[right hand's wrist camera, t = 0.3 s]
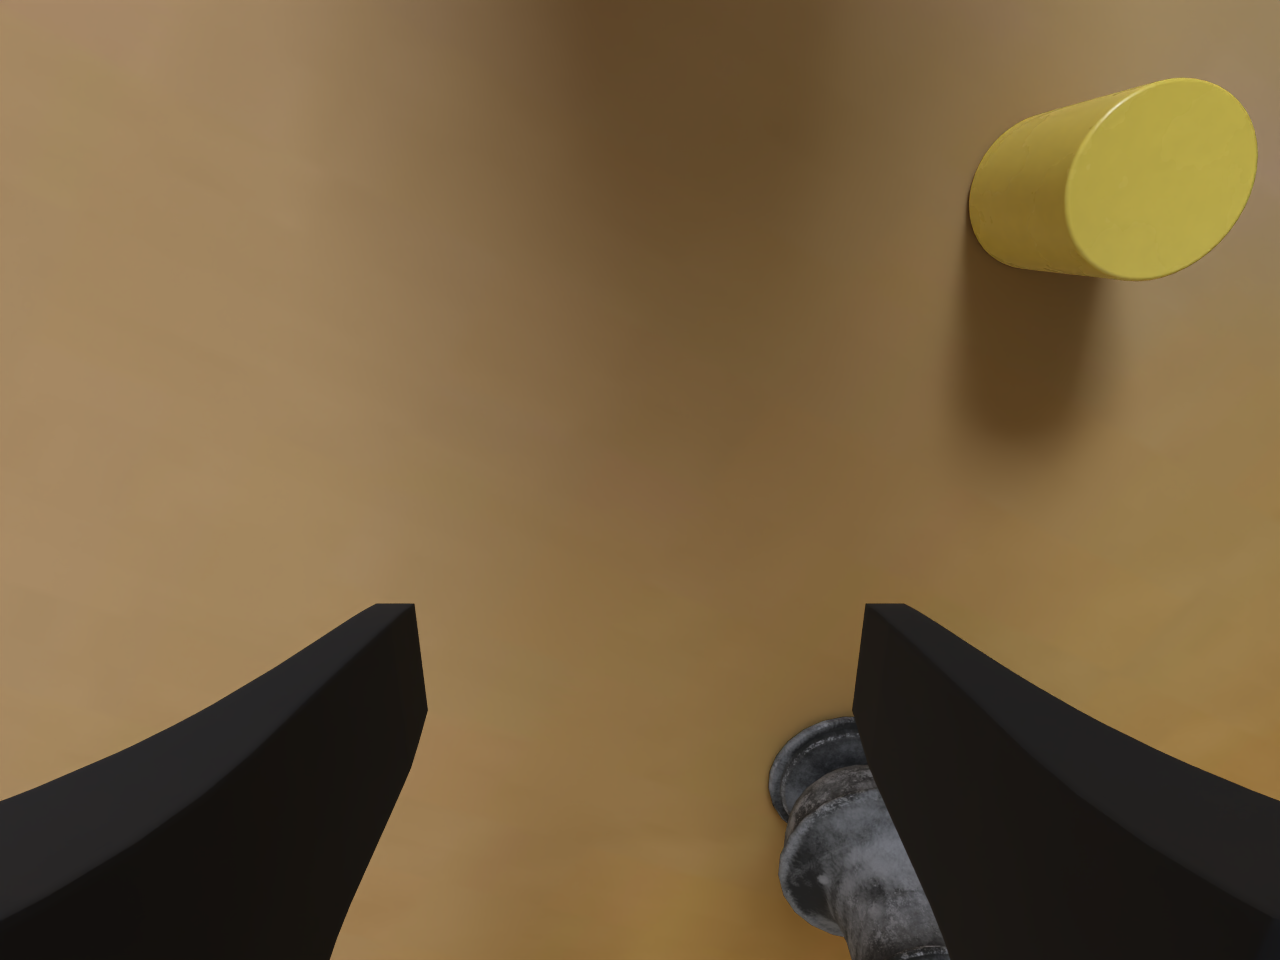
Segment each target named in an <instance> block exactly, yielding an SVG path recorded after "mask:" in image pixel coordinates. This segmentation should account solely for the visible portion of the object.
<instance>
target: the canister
mask: <svg viewBox="0 0 1280 960" xmlns="http://www.w3.org/2000/svg"><path fill="white" fill-rule="evenodd" d="M1257 159H1258V151H1257V140H1256V135H1255V130H1254V128H1253V125H1252V122H1251V119H1250V117H1249V116H1248V114H1247V112H1246V110H1245V109H1244V107H1243V106H1242V105H1241V104H1240V102H1239V101H1238V100H1237V99H1236V98H1235V97H1234V96H1233V95H1232V94H1230V93H1229V92H1228V91H1226V90H1225V89H1223V88H1221V87H1220V86H1218V85H1215V84H1213V83H1210V82H1208V81H1204V80H1200V79H1195V78H1172V79H1166V80H1162V81H1157V82H1153V83H1150V84H1146V85H1143V86H1139V87H1135V88H1132V89H1128V90H1124V91H1121V92H1117V93H1114V94H1110V95H1106V96H1103V97H1099V98H1096V99H1092V100H1088V101H1085V102H1081V103H1078V104H1074V105H1070V106H1067V107H1063V108H1060V109H1056V110H1052V111H1049V112H1045V113H1041V114H1038V115H1035V116H1032V117H1029V118H1027V119H1025V120H1023V121H1021V122H1019V123H1017V124H1016V125H1014V126H1013V127H1011V128H1010V129H1008V130H1007V131H1006V132H1005V133H1004V134H1002V135H1001V136H1000V137H999V138H998V139H997V140H996V141H995V142H994V143H993V145H992V146H991V147H990V148H989V150H988V151H987V152H986V154H985V155H984V157H983V159H982V161H981V162H980V164H979V166H978V168H977V171H976V173H975V176H974V179H973V182H972V186H971V191H970V198H969V213H970V219H971V224H972V227H973V230H974V233H975V235H976V237H977V239H978V241H979V243H980V244H981V245H982V247H983V248H984V249H985V250H986V251H987V252H988V253H989V255H991V256H992V257H993V258H995V259H996V260H998V261H1000V262H1001V263H1003V264H1006V265H1008V266H1011V267H1015V268H1021V269H1029V270H1037V271H1046V272H1055V273H1064V274H1072V275H1081V276H1090V277H1098V278H1107V279H1116V280H1125V281H1146V280H1153V279H1158V278H1162V277H1165V276H1168V275H1171V274H1174V273H1176V272H1178V271H1180V270H1182V269H1184V268H1186V267H1188V266H1190V265H1191V264H1193V263H1195V262H1196V261H1198V260H1200V259H1201V258H1202V257H1203V256H1205V255H1206V254H1207V253H1209V252H1210V251H1211V250H1212V249H1213V248H1214V247H1215V246H1216V245H1217V244H1219V243H1220V242H1221V240H1222V239H1223V238H1224V237H1225V236H1226V235H1227V234H1228V232H1229V231H1230V230H1231V228H1232V227H1233V226H1234V224H1235V223H1236V221H1237V220H1238V218H1239V216H1240V215H1241V213H1242V211H1243V209H1244V208H1245V205H1246V203H1247V201H1248V199H1249V196H1250V194H1251V190H1252V187H1253V184H1254V180H1255V175H1256V170H1257Z"/></svg>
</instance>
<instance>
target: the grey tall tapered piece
mask: <svg viewBox="0 0 1280 960" xmlns="http://www.w3.org/2000/svg"><path fill="white" fill-rule="evenodd" d="M769 791H770V795H771V799H772V803H773V806H774V807H775V809H776V811H777V812H778V814H779V815H780V817H781V818H782V819H783V820H784V821H785V822H786V823H788V824H787V828H786V832H785V840H784V848H783V850H782V852H781V854H780V862H779V872H778V875H779V879H780V883H781V887H782V891H783V895H784V897H785V898H786V900H787V901H788V903H789V904H790V906H791V907H792V909H793V910H794V911H795V912H796V913H797V914H798V915H799V916H801V917H802V918H803V919H804V920H806V921H807V922H808V923H809V924H811V925H812V926H815V927H817V928H819V929H821V930H824V931H826V932H828V933H830V934H833V935H837V936H842V937H844V938H845V940H846V942H847V945H848V948H849V952H850V955H851V959H852V960H950V957H949V954H948V951H947V948H946V945H945V942H944V939H943V936H942V934H941V931H940V929H939V926H938V924H937V921H936V919H935V916H934V914H933V911H932V909H931V906H930V904H929V902H928V899H927V897H926V895H925V893H924V891H923V888H922V886H921V884H920V882H919V879H918V877H917V875H916V873H915V870H914V868H913V866H912V864H911V862H910V859H909V857H908V855H907V853H906V850H905V848H904V846H903V844H902V841H901V839H900V837H899V835H898V833H897V830H896V828H895V826H894V824H893V821H892V819H891V817H890V815H889V812H888V810H887V808H886V806H885V803H884V801H883V799H882V796H881V794H880V792H879V790H878V787H877V785H876V783H875V780H874V778H873V776H872V773H871V771H870V769H869V766H868V763H867V759H866V756H865V753H864V750H863V746H862V743H861V740H860V736H859V733H858V729H857V725H856V722H855V718H854V717H840V718H835V719H831V720H826V721H822V722H820V723H817V724H815V725H813V726H811V727H808V728H806V729H804V730H802V731H801V732H800V733H798V734H797V735H796V736H794V737H793V738H792V739H791V740H789V741H788V742H787V743H786V744H785V746H784V747H783V748H782V749H781V751H780V752H779V753H778V754H777V756H776V758H775V760H774V763H773V765H772V767H771V770H770V775H769Z"/></svg>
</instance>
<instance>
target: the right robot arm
mask: <svg viewBox="0 0 1280 960" xmlns="http://www.w3.org/2000/svg"><path fill="white" fill-rule="evenodd" d="M427 711H428V708H427V700H426V692H425V684H424V676H423V668H422V660H421V652H420V644H419V636H418V628H417V621H416V613H415V605H414V604H375V605H373V606H371V607H369V608H367V609H365V610H364V611H362V612H360V613H359V614H357V615H355V616H354V617H352V618H351V619H349V620H347V621H346V622H344V623H343V624H341V625H340V626H338V627H337V628H335V629H334V630H332V631H330V632H329V633H327V634H326V635H324V636H323V637H321V638H320V639H318V640H317V641H315V642H314V643H312V644H311V645H309V646H307V647H306V648H304V649H303V650H301V651H300V652H298V653H297V654H295V655H294V656H292V657H290V658H289V659H287V660H286V661H284V662H283V663H281V664H280V665H278V666H276V667H275V668H273V669H272V670H270V671H268V672H267V673H265V674H263V675H261V676H260V677H258V678H256V679H255V680H253V681H251V682H250V683H248V684H246V685H245V686H243V687H241V688H240V689H238V690H236V691H235V692H233V693H231V694H230V695H228V696H226V697H224V698H223V699H221V700H219V701H218V702H216V703H214V704H213V705H211V706H209V707H207V708H205V709H204V710H202V711H200V712H198V713H196V714H194V715H193V716H191V717H189V718H187V719H185V720H183V721H181V722H179V723H177V724H176V725H174V726H172V727H169V728H167V729H165V730H163V731H161V732H159V733H157V734H155V735H153V736H151V737H149V738H147V739H145V740H143V741H141V742H139V743H137V744H135V745H133V746H131V747H129V748H127V749H124V750H122V751H120V752H118V753H116V754H113V755H111V756H109V757H106V758H104V759H102V760H99V761H97V762H95V763H92V764H90V765H88V766H85V767H83V768H81V769H78V770H76V771H74V772H71V773H69V774H67V775H64V776H62V777H60V778H57V779H55V780H53V781H50V782H48V783H46V784H43V785H41V786H39V787H36V788H34V789H31V790H29V791H26V792H24V793H21V794H19V795H16V796H13V797H11V798H8V799H5V800H3V801H0V960H330V957H331V954H332V951H333V948H334V945H335V943H336V940H337V937H338V934H339V932H340V929H341V927H342V924H343V922H344V919H345V917H346V914H347V912H348V909H349V907H350V904H351V902H352V900H353V897H354V895H355V893H356V891H357V888H358V886H359V884H360V882H361V880H362V877H363V875H364V873H365V871H366V868H367V866H368V864H369V862H370V859H371V857H372V855H373V853H374V851H375V848H376V846H377V844H378V842H379V839H380V837H381V835H382V833H383V830H384V828H385V826H386V824H387V822H388V819H389V817H390V815H391V813H392V810H393V808H394V806H395V803H396V801H397V799H398V797H399V794H400V792H401V790H402V788H403V785H404V783H405V781H406V778H407V776H408V774H409V771H410V769H411V766H412V763H413V760H414V756H415V753H416V750H417V747H418V743H419V740H420V736H421V733H422V729H423V726H424V722H425V718H426V715H427ZM852 711H853V715H854V718H855V722H856V725H857V729H858V733H859V736H860V740H861V743H862V746H863V750H864V753H865V756H866V759H867V763H868V766H869V769H870V771H871V773H872V776H873V778H874V780H875V783H876V785H877V787H878V790H879V792H880V794H881V796H882V799H883V801H884V803H885V806H886V808H887V810H888V812H889V815H890V817H891V819H892V821H893V824H894V826H895V828H896V830H897V833H898V835H899V837H900V839H901V841H902V844H903V846H904V848H905V850H906V853H907V855H908V857H909V859H910V862H911V864H912V866H913V868H914V870H915V873H916V875H917V877H918V879H919V882H920V884H921V886H922V888H923V891H924V893H925V895H926V897H927V899H928V902H929V904H930V906H931V909H932V911H933V914H934V916H935V919H936V921H937V924H938V926H939V929H940V931H941V934H942V936H943V939H944V942H945V945H946V948H947V951H948V954H949V957H950V960H1280V801H1278V800H1276V799H1273V798H1270V797H1268V796H1265V795H1262V794H1260V793H1257V792H1255V791H1252V790H1250V789H1247V788H1245V787H1242V786H1240V785H1238V784H1235V783H1233V782H1230V781H1228V780H1226V779H1223V778H1221V777H1218V776H1216V775H1213V774H1211V773H1209V772H1206V771H1204V770H1201V769H1199V768H1197V767H1194V766H1192V765H1190V764H1187V763H1185V762H1183V761H1181V760H1178V759H1176V758H1174V757H1172V756H1169V755H1167V754H1165V753H1163V752H1161V751H1158V750H1156V749H1154V748H1152V747H1150V746H1148V745H1146V744H1144V743H1142V742H1140V741H1138V740H1136V739H1134V738H1132V737H1130V736H1128V735H1126V734H1124V733H1122V732H1119V731H1117V730H1115V729H1113V728H1111V727H1109V726H1107V725H1105V724H1103V723H1101V722H1099V721H1098V720H1096V719H1094V718H1092V717H1090V716H1088V715H1086V714H1084V713H1083V712H1081V711H1079V710H1077V709H1075V708H1074V707H1072V706H1070V705H1068V704H1067V703H1065V702H1063V701H1061V700H1060V699H1058V698H1056V697H1054V696H1053V695H1051V694H1049V693H1047V692H1046V691H1044V690H1042V689H1040V688H1039V687H1037V686H1035V685H1034V684H1032V683H1030V682H1029V681H1027V680H1025V679H1024V678H1022V677H1020V676H1019V675H1017V674H1015V673H1014V672H1012V671H1011V670H1009V669H1007V668H1006V667H1004V666H1003V665H1001V664H999V663H998V662H996V661H995V660H993V659H992V658H990V657H988V656H987V655H985V654H984V653H982V652H981V651H979V650H978V649H976V648H975V647H973V646H971V645H970V644H968V643H967V642H965V641H964V640H962V639H961V638H959V637H958V636H956V635H955V634H953V633H952V632H950V631H949V630H947V629H945V628H944V627H942V626H941V625H939V624H938V623H936V622H935V621H933V620H931V619H930V618H928V617H927V616H925V615H923V614H922V613H920V612H919V611H917V610H915V609H913V608H911V607H910V606H908V605H906V604H866V605H865V613H864V621H863V629H862V637H861V645H860V653H859V661H858V669H857V677H856V684H855V692H854V700H853V708H852Z"/></svg>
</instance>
